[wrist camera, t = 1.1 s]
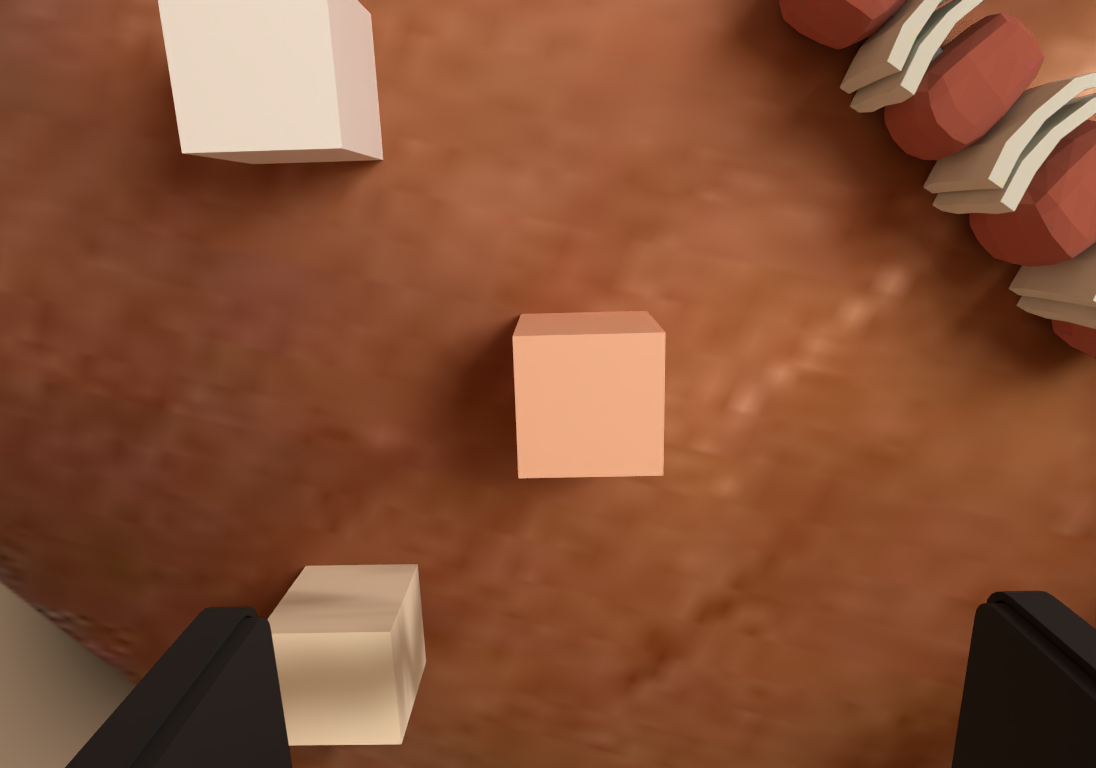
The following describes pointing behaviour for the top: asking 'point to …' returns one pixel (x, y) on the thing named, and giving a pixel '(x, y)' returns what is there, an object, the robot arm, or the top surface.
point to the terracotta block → (589, 394)
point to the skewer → (983, 137)
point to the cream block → (273, 79)
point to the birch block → (349, 653)
